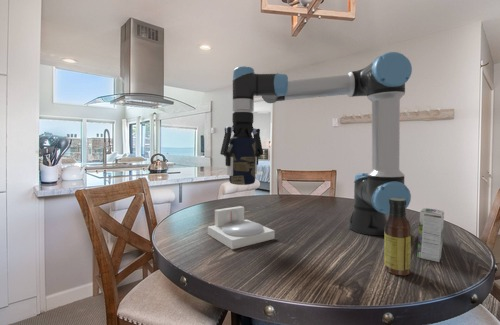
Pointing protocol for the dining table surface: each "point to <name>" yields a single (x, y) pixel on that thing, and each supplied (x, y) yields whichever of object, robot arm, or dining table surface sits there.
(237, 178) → the canister
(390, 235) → the sauce bottle
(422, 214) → the syrup box
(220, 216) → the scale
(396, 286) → the dining table surface
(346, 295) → the dining table surface
